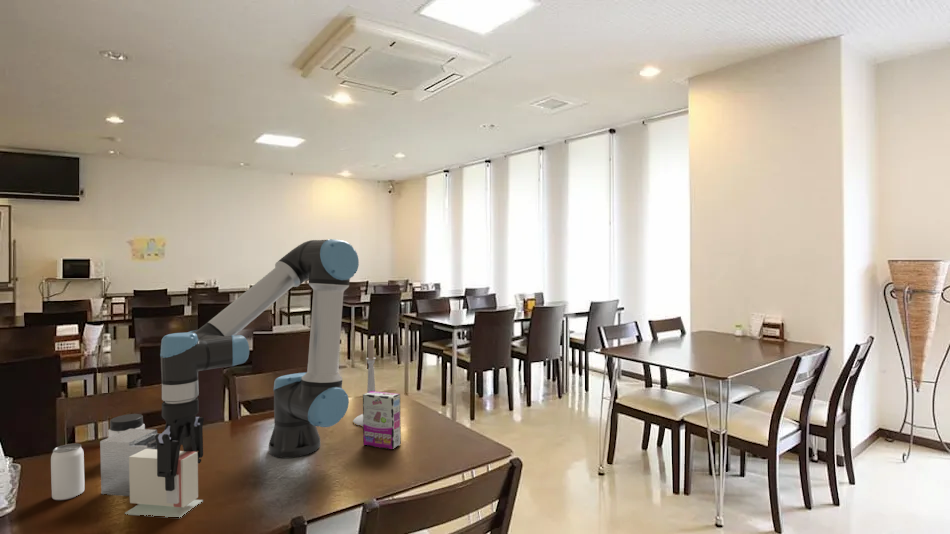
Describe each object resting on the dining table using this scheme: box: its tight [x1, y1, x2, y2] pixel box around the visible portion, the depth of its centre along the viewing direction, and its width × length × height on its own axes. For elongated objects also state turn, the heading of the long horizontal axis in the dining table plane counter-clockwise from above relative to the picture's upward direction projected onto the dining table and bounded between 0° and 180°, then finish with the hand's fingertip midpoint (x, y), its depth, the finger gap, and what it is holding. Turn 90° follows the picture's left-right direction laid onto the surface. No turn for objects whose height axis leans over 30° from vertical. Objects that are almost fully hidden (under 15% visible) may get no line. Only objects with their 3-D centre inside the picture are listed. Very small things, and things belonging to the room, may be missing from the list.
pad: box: [124, 499, 204, 519], centre depth 123 cm, size 14×8×1 cm, turn 82°
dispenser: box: [99, 428, 174, 497], centre depth 133 cm, size 14×9×14 cm
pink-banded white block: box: [129, 449, 199, 507], centre depth 122 cm, size 14×5×11 cm, turn 81°
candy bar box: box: [362, 390, 402, 450], centre depth 162 cm, size 11×5×16 cm, turn 68°
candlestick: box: [352, 338, 377, 426], centre depth 185 cm, size 13×13×30 cm
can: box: [50, 443, 85, 501], centre depth 129 cm, size 6×6×12 cm
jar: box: [107, 413, 146, 438], centre depth 152 cm, size 9×8×12 cm
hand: (181, 496), depth 122 cm, fingers closed on pink-banded white block, 5 cm apart
